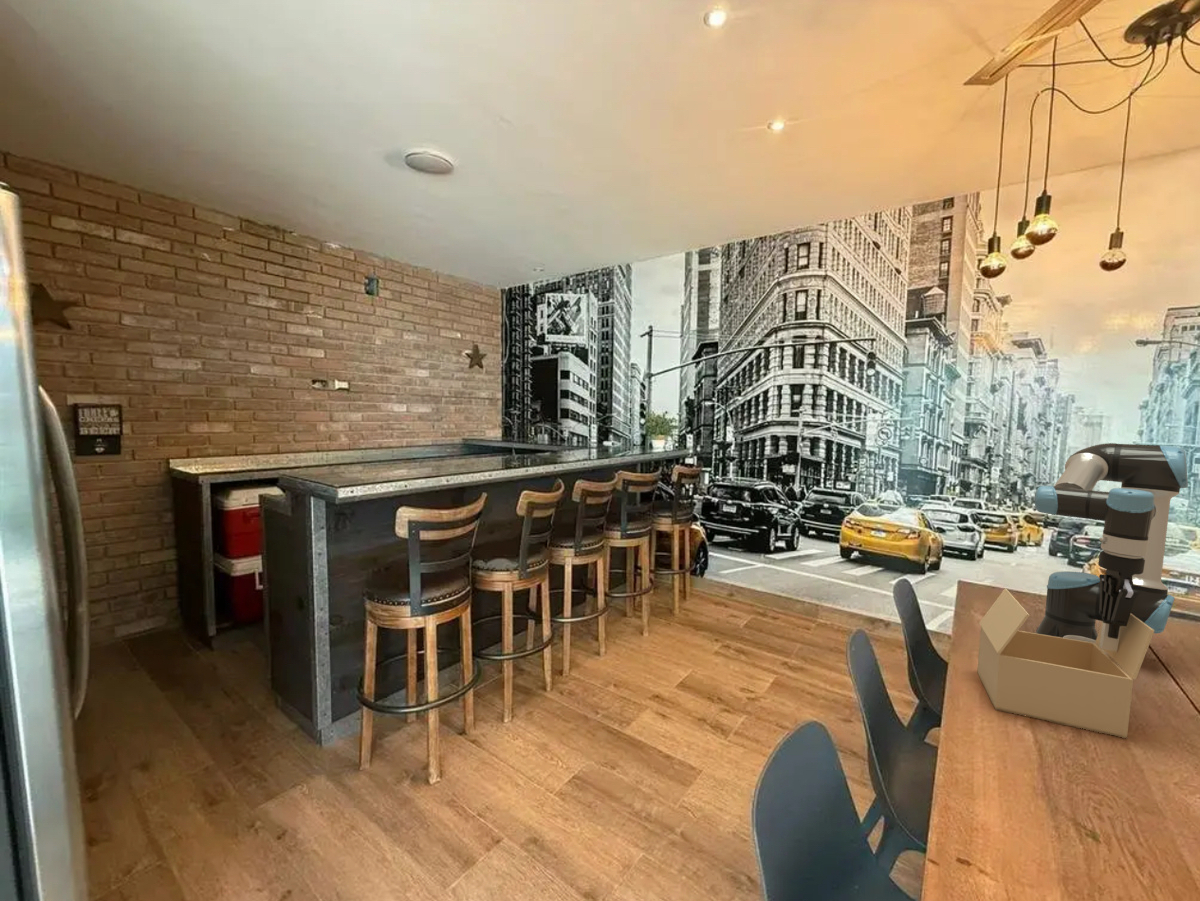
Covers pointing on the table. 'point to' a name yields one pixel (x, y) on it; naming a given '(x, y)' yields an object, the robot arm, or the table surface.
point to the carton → (1057, 682)
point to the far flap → (1003, 620)
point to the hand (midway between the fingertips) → (1108, 648)
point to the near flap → (1130, 645)
